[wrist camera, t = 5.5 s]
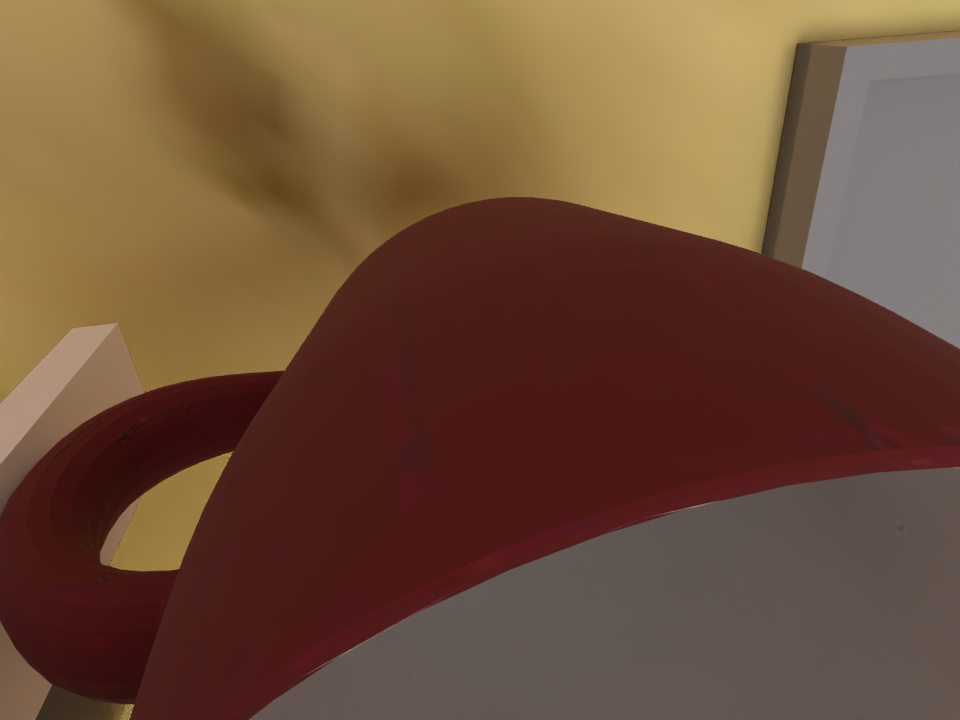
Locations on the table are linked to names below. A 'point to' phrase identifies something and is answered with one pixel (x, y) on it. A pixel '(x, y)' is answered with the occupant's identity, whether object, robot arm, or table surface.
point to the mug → (527, 498)
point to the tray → (875, 173)
